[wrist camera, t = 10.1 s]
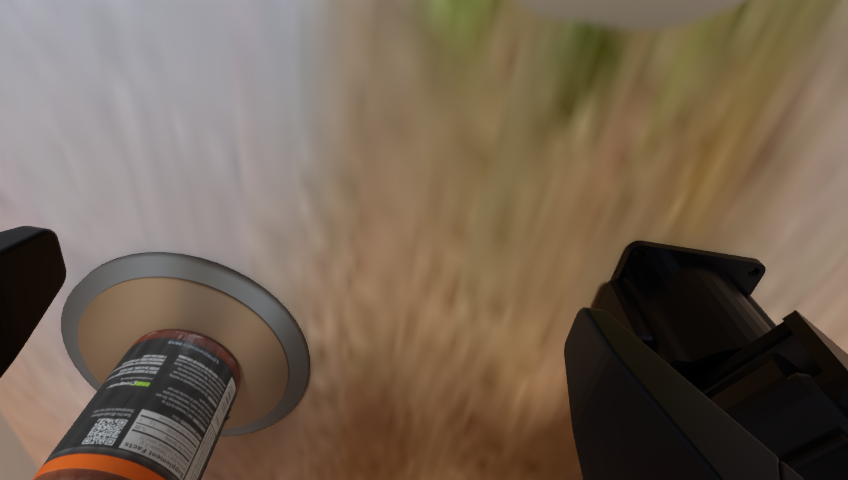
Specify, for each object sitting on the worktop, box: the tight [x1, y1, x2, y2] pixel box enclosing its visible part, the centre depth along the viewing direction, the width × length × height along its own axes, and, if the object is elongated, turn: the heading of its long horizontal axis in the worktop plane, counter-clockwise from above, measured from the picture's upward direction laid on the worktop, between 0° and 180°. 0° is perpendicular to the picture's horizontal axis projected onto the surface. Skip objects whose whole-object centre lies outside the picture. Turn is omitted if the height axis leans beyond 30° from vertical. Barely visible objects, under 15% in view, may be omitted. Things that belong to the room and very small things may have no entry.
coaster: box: [61, 252, 310, 436], centre depth 27 cm, size 13×13×1 cm
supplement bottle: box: [33, 329, 241, 480], centre depth 22 cm, size 6×6×11 cm
